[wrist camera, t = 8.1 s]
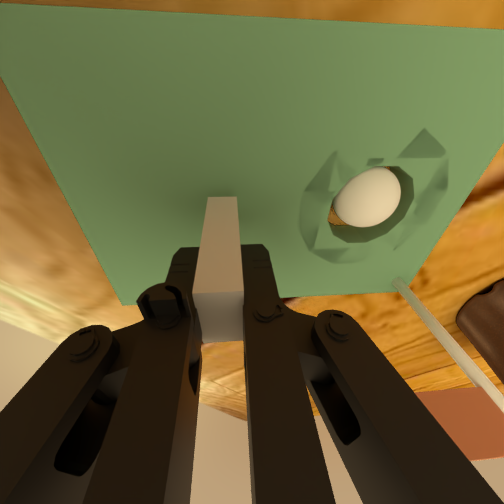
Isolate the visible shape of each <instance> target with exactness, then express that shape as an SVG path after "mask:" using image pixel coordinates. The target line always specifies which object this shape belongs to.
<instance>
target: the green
mask: <svg viewBox="0 0 504 504" xmlns="http://www.w3.org/2000/svg"><path fill="white" fill-rule="evenodd" d="M0 77H1V78H2V80H3V82H4V84H5V86H6V88H7V90H8V92H9V93H10V95H11V97H12V99H13V101H14V103H15V105H16V107H17V108H18V110H19V112H20V114H21V116H22V118H23V120H24V122H25V123H26V125H27V127H28V129H29V131H30V133H31V135H32V137H33V139H34V140H35V142H36V144H37V146H38V148H39V150H40V152H41V154H42V155H43V157H44V159H45V161H46V163H47V165H48V167H49V169H50V170H51V172H52V174H53V176H54V178H55V180H56V182H57V184H58V185H59V187H60V189H61V191H62V193H63V195H64V197H65V199H66V201H67V202H68V204H69V206H70V208H71V210H72V212H73V214H74V216H75V217H76V219H77V221H78V223H79V225H80V227H81V229H82V231H83V232H84V234H85V236H86V238H87V240H88V242H89V244H90V246H91V247H92V249H93V251H94V253H95V255H96V257H97V259H98V261H99V262H100V264H101V266H102V268H103V270H104V272H105V274H106V276H107V278H108V279H109V281H110V283H111V285H112V287H113V289H114V291H115V293H116V294H117V296H118V298H119V300H120V302H121V304H122V306H123V305H137V303H136V300H137V299H138V297H139V296H140V294H141V293H142V292H144V291H145V290H146V289H147V288H149V287H151V286H153V285H156V284H158V283H164V282H165V280H166V277H167V274H168V271H169V267H170V266H171V265H170V264H171V261H172V258H173V255H174V254H175V253H176V252H177V251H178V250H179V249H180V247H200V243H201V237H202V230H203V224H204V218H205V212H206V206H207V200H208V197H237V207H238V220H239V233H240V245H241V244H263V245H264V246H265V247H266V249H267V250H268V251H269V255H270V259H271V263H272V268H273V272H274V276H275V280H276V284H277V289H278V293H279V296H280V298H284V297H304V296H324V295H344V294H364V293H384V292H399V291H398V290H397V289H396V288H395V286H394V285H393V284H392V280H393V279H395V278H397V277H399V278H401V279H402V280H403V281H404V283H405V284H406V285H407V286H409V284H410V283H411V281H412V280H413V278H414V277H415V275H416V274H417V272H418V271H419V269H420V268H421V266H422V265H423V263H424V262H425V260H426V259H427V257H428V256H429V254H430V253H431V251H432V249H433V248H434V246H435V245H436V243H437V242H438V240H439V239H440V237H441V236H442V234H443V233H444V231H445V230H446V228H447V227H448V225H449V224H450V222H451V221H452V219H453V218H454V216H455V215H456V213H457V212H458V210H459V209H460V207H461V206H462V204H463V203H464V201H465V200H466V198H467V197H468V195H469V194H470V192H471V191H472V189H473V188H474V186H475V185H476V183H477V182H478V180H479V179H480V177H481V176H482V174H483V173H484V171H485V170H486V168H487V167H488V165H489V164H490V162H491V161H492V159H493V158H494V156H495V155H496V153H497V152H498V150H499V149H500V147H501V146H502V144H503V143H504V30H502V29H483V28H464V27H445V26H427V25H408V24H389V23H370V22H351V21H332V20H314V19H295V18H276V17H257V16H238V15H219V14H201V13H182V12H163V11H144V10H125V9H106V8H88V7H69V6H50V5H31V4H12V3H0ZM374 166H390V171H391V172H392V173H393V174H394V175H395V176H396V178H397V179H398V181H399V184H400V189H401V195H400V201H399V204H398V206H397V208H396V209H395V211H394V212H393V213H392V214H391V215H390V216H389V217H388V218H387V219H386V220H384V221H383V222H381V223H379V224H377V225H374V226H370V227H356V226H352V225H335V226H334V225H333V224H331V223H329V222H328V220H327V219H328V215H329V211H330V208H331V204H332V200H333V198H334V197H335V196H336V195H337V193H338V192H339V191H340V190H341V189H342V188H343V186H344V185H345V184H346V183H347V182H348V181H349V179H351V178H353V177H355V176H357V175H358V174H360V173H362V172H364V171H366V170H368V169H370V168H372V167H374Z"/></svg>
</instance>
